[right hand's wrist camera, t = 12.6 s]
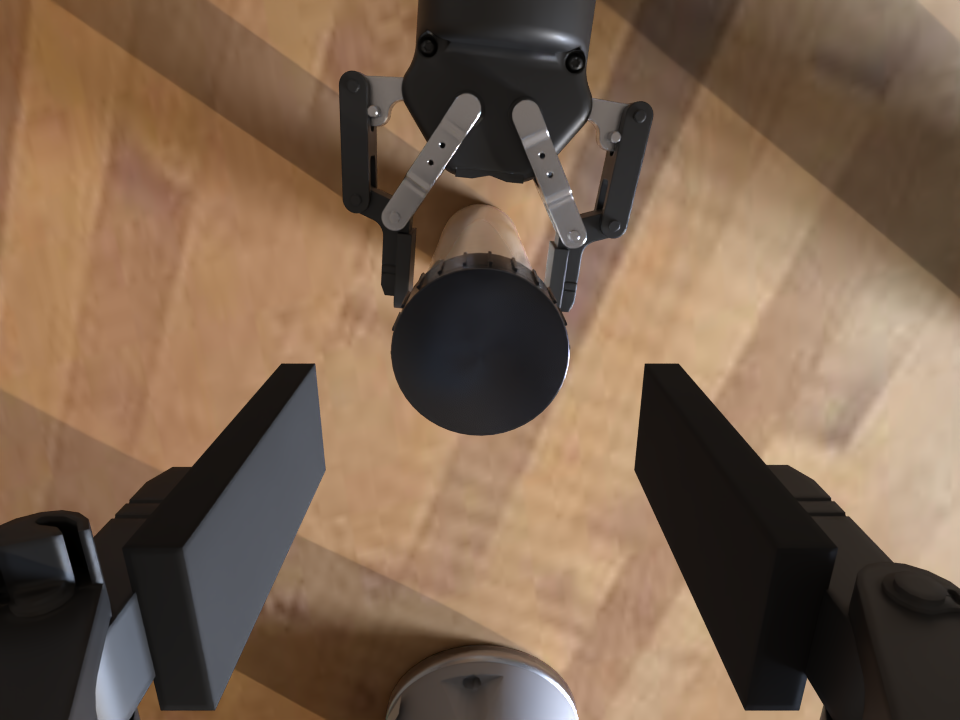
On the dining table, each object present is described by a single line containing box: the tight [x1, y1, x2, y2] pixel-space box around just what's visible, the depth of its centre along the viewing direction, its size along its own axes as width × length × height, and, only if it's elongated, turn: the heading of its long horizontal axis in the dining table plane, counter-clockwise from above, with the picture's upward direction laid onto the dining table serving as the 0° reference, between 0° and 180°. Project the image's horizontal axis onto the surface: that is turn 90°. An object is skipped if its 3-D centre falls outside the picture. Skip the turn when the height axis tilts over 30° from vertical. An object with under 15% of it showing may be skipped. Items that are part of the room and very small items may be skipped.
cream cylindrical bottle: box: [427, 204, 532, 272], centre depth 28 cm, size 5×5×19 cm
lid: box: [391, 251, 570, 436], centre depth 19 cm, size 5×5×2 cm
